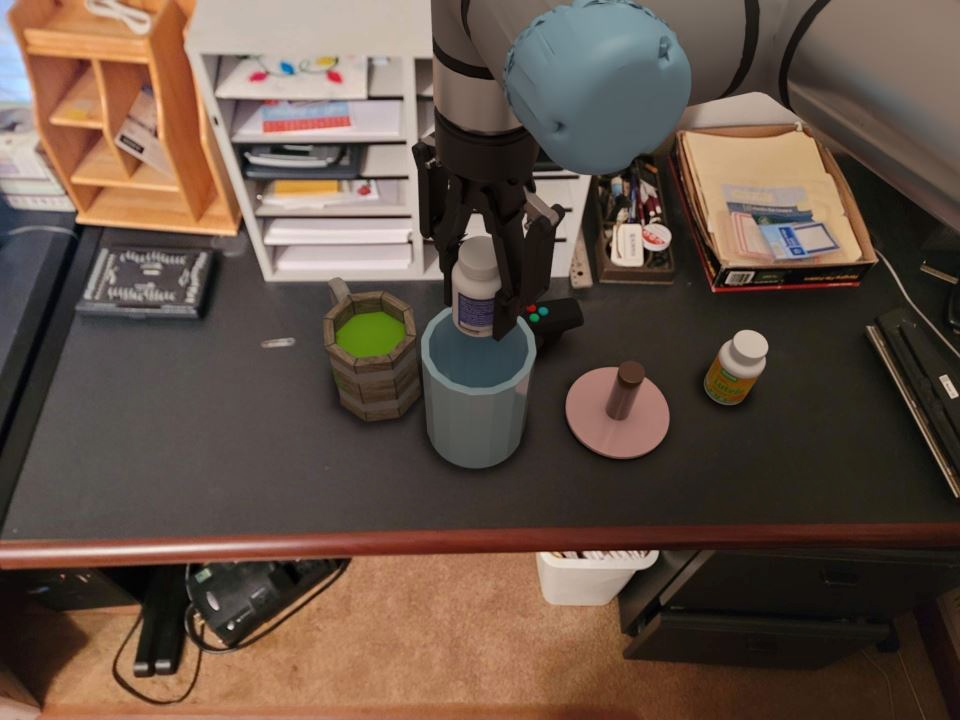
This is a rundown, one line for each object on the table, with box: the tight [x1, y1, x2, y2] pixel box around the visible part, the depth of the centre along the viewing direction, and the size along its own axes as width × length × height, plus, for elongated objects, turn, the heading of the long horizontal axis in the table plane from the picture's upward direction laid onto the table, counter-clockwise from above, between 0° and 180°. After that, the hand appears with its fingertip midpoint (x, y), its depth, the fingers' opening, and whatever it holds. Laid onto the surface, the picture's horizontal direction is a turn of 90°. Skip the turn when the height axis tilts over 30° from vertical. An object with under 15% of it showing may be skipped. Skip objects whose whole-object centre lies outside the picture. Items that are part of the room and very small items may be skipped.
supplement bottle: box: [703, 329, 769, 406], centre depth 84 cm, size 5×5×10 cm
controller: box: [519, 296, 585, 358], centre depth 87 cm, size 4×12×10 cm, turn 103°
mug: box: [322, 276, 422, 423], centre depth 83 cm, size 16×11×12 cm
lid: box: [564, 360, 671, 460], centre depth 82 cm, size 13×13×10 cm
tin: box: [420, 307, 537, 469], centre depth 77 cm, size 12×12×16 cm
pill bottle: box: [452, 235, 502, 337], centre depth 63 cm, size 5×5×9 cm
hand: (480, 314), depth 67 cm, fingers closed on pill bottle, 5 cm apart
